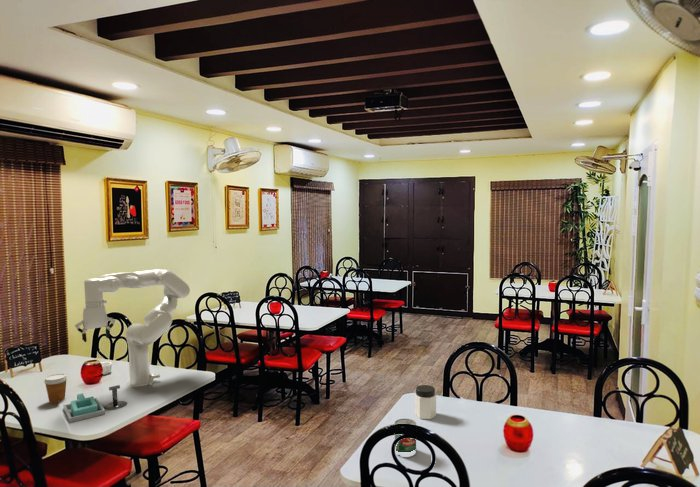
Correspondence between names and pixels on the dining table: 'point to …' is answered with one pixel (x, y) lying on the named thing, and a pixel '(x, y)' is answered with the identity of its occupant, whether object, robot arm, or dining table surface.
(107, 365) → the teacup
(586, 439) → the dining table surface
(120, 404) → the grey t-shaped stand
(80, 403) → the teal box on base
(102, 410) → the tray
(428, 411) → the jar
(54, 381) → the disposable coffee cup
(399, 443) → the canned tomato
